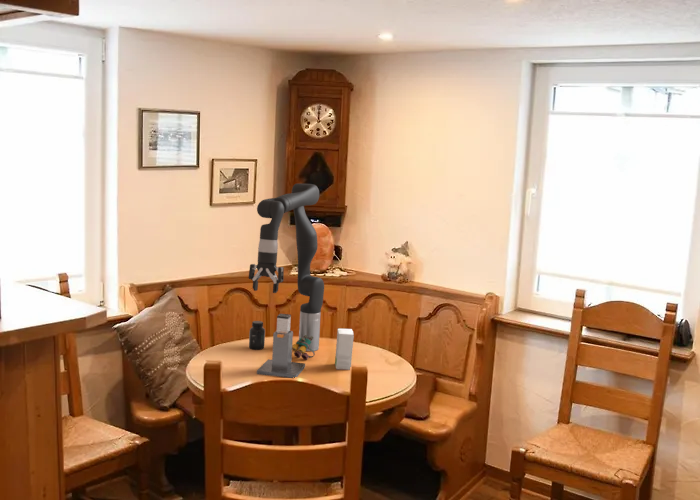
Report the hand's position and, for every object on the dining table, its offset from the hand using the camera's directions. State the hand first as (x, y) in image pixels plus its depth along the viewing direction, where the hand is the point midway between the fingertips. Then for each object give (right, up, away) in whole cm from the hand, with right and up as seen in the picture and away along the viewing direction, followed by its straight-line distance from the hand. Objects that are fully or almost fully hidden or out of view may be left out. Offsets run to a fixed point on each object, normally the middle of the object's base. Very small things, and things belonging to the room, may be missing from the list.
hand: (265, 291), depth 282 cm
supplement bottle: (-8, -28, +37) cm, 47 cm away
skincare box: (+31, -33, +18) cm, 48 cm away
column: (+6, -31, +8) cm, 32 cm away
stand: (+6, -33, +8) cm, 34 cm away
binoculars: (+13, -31, +26) cm, 42 cm away
